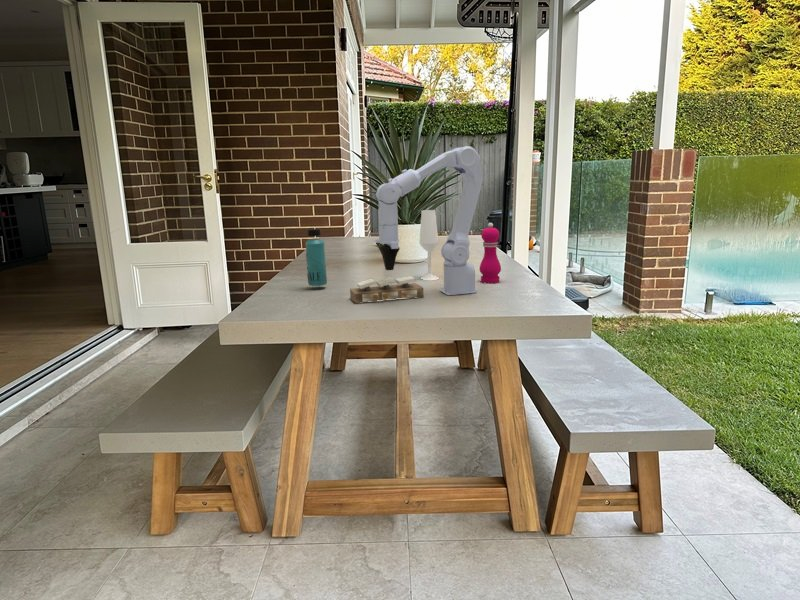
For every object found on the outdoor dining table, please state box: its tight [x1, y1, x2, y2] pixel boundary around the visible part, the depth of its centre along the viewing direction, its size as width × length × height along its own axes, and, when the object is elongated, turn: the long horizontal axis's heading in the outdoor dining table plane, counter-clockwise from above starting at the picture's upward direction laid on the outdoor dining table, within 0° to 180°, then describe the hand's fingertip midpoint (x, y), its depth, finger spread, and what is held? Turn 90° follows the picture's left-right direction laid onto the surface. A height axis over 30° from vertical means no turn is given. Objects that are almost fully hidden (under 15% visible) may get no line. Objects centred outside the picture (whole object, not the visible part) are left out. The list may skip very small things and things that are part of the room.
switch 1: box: [356, 277, 377, 289], centre depth 165 cm, size 5×4×1 cm
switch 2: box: [375, 276, 397, 287], centre depth 167 cm, size 5×4×1 cm
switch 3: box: [394, 275, 416, 285], centre depth 168 cm, size 5×4×1 cm
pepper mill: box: [479, 222, 502, 284], centre depth 185 cm, size 7×7×20 cm
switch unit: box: [349, 282, 424, 304], centre depth 167 cm, size 21×8×4 cm, turn 106°
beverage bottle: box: [305, 228, 328, 287], centre depth 183 cm, size 6×7×20 cm
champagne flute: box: [419, 209, 440, 281], centre depth 193 cm, size 7×7×24 cm
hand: (389, 269), depth 166 cm, fingers closed
